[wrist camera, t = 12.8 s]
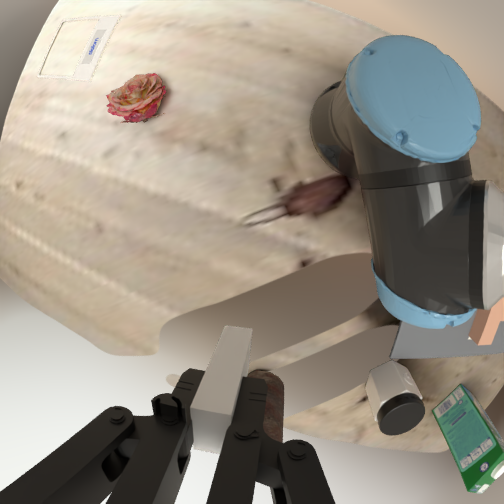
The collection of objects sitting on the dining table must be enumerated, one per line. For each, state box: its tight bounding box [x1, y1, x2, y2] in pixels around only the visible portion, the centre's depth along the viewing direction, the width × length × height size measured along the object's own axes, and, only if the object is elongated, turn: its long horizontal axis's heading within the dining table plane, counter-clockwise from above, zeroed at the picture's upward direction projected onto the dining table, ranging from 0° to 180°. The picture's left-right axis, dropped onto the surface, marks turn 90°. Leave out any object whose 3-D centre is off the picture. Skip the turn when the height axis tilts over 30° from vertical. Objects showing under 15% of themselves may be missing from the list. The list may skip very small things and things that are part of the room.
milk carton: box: [432, 384, 504, 494], centre depth 36 cm, size 9×9×25 cm
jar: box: [365, 360, 425, 435], centre depth 42 cm, size 9×8×12 cm
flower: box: [106, 73, 167, 123], centre depth 38 cm, size 10×9×8 cm
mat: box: [389, 309, 504, 359], centre depth 42 cm, size 24×36×1 cm, turn 86°
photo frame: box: [37, 15, 122, 82], centre depth 39 cm, size 15×1×18 cm
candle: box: [247, 370, 284, 443], centre depth 41 cm, size 8×7×20 cm
